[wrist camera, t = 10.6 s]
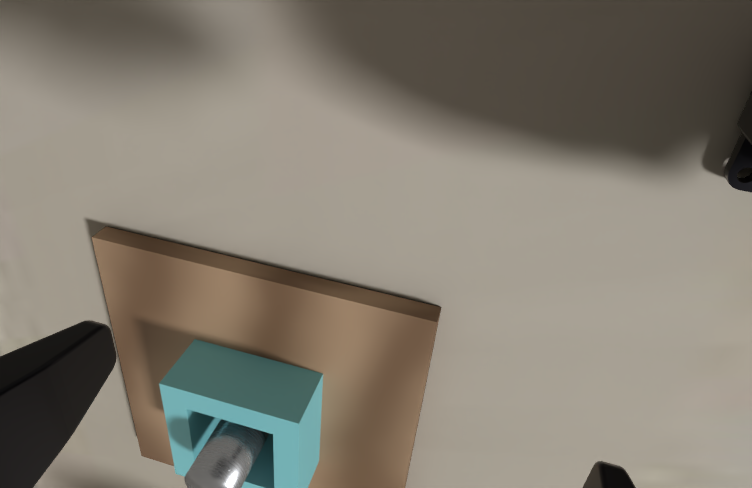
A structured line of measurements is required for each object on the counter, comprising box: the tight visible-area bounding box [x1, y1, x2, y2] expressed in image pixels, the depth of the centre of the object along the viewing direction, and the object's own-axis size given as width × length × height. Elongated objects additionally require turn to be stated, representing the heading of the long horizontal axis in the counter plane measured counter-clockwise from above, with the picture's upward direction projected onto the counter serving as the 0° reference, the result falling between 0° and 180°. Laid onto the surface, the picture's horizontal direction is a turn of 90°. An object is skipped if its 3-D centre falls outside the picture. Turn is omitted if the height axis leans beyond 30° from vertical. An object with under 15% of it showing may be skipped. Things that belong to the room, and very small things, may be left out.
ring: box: [159, 339, 323, 488], centre depth 27 cm, size 7×7×3 cm
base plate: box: [92, 227, 441, 488], centre depth 29 cm, size 16×16×1 cm
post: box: [185, 419, 270, 488], centre depth 26 cm, size 2×2×5 cm
